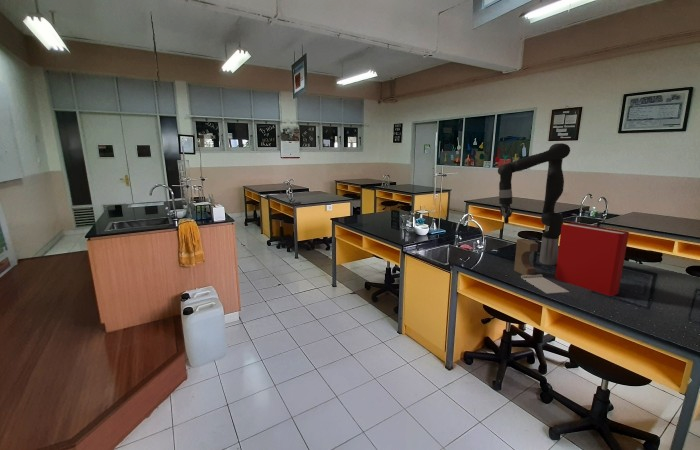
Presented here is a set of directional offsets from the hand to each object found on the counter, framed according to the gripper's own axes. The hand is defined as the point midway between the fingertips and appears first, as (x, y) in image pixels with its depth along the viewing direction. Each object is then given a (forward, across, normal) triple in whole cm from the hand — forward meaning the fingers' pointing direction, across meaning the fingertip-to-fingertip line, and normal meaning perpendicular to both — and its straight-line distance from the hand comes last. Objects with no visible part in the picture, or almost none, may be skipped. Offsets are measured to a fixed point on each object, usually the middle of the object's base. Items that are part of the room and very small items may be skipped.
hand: (506, 223), depth 207 cm
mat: (+28, -37, -1) cm, 47 cm away
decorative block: (+27, -20, 0) cm, 34 cm away
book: (+31, -39, -22) cm, 55 cm away
